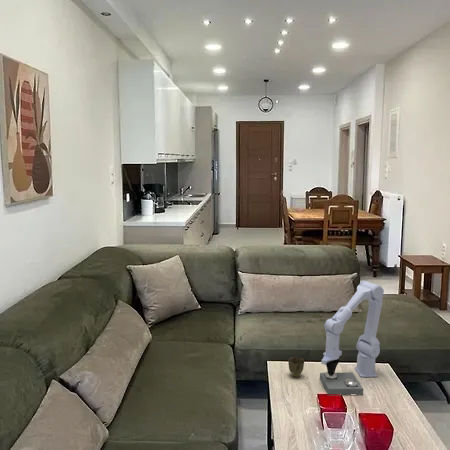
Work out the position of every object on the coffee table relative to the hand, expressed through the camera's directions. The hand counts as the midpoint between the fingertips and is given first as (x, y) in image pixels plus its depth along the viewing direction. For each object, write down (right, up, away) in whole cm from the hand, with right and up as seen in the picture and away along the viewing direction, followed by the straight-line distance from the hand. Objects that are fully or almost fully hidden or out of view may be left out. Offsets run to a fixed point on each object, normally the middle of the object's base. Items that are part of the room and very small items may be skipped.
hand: (330, 374), depth 211 cm
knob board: (+4, -5, -3) cm, 6 cm away
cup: (-15, -3, +7) cm, 17 cm away
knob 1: (0, -3, +1) cm, 3 cm away
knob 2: (+7, -5, -6) cm, 10 cm away
